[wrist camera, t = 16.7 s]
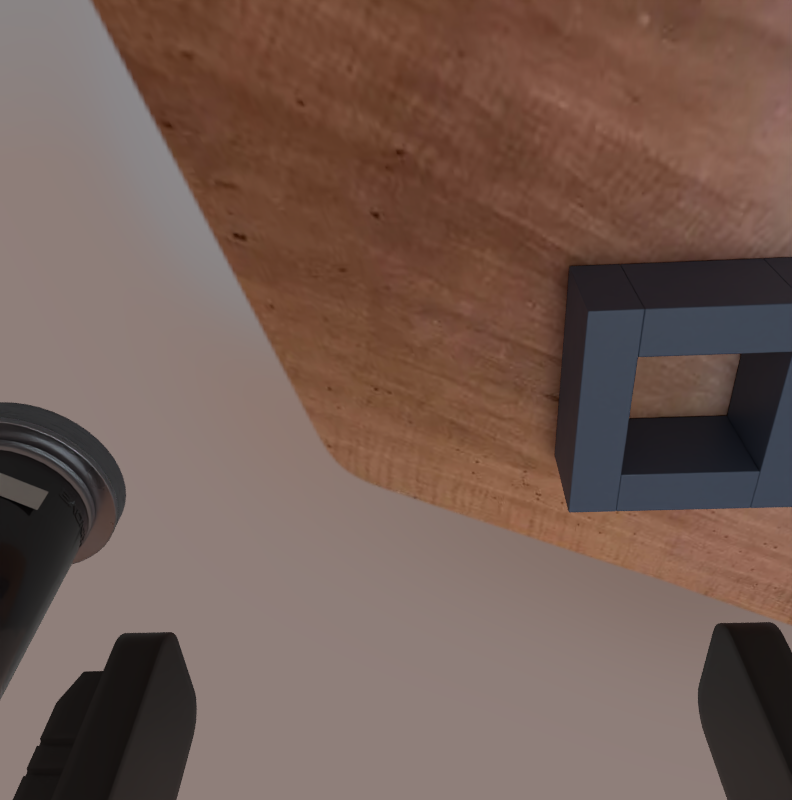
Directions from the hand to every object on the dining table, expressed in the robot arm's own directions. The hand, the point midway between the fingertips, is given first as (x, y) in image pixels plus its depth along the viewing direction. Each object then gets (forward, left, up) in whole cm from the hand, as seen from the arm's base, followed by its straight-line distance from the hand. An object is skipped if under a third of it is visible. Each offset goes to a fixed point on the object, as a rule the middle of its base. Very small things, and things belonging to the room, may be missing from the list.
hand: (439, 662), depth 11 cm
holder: (+13, -12, -28) cm, 33 cm away
